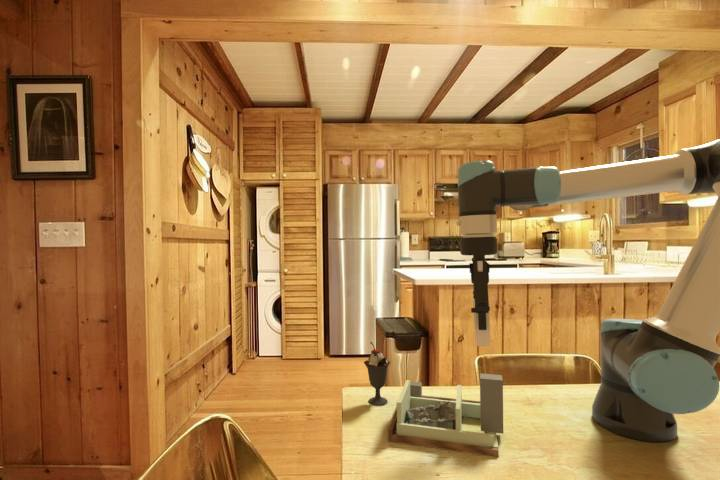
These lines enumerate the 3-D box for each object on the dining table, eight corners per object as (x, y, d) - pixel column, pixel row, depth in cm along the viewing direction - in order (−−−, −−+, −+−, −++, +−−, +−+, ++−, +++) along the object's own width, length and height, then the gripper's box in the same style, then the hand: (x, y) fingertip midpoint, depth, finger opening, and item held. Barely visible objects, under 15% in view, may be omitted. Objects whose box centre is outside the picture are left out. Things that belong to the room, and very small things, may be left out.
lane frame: (492, 407, 92) (491, 397, 92) (498, 456, 71) (498, 444, 71) (405, 398, 98) (404, 388, 98) (388, 441, 77) (388, 429, 77)
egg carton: (451, 417, 86) (451, 400, 86) (459, 435, 79) (459, 415, 79) (405, 418, 87) (404, 400, 87) (409, 435, 79) (408, 415, 79)
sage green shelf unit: (500, 419, 85) (499, 366, 85) (505, 453, 72) (505, 391, 72) (407, 408, 91) (406, 359, 91) (396, 438, 78) (395, 380, 78)
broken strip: (481, 407, 91) (481, 387, 91) (481, 414, 88) (481, 392, 88) (408, 399, 96) (408, 380, 96) (406, 405, 93) (406, 385, 93)
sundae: (366, 395, 99) (365, 339, 99) (391, 396, 99) (390, 339, 98) (363, 406, 93) (362, 346, 93) (390, 408, 92) (389, 347, 92)
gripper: (460, 236, 92) (463, 322, 92) (458, 237, 68) (462, 353, 68) (493, 235, 90) (496, 323, 90) (502, 235, 66) (506, 355, 66)
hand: (481, 336), depth 79 cm, fingers open, 13 cm apart
